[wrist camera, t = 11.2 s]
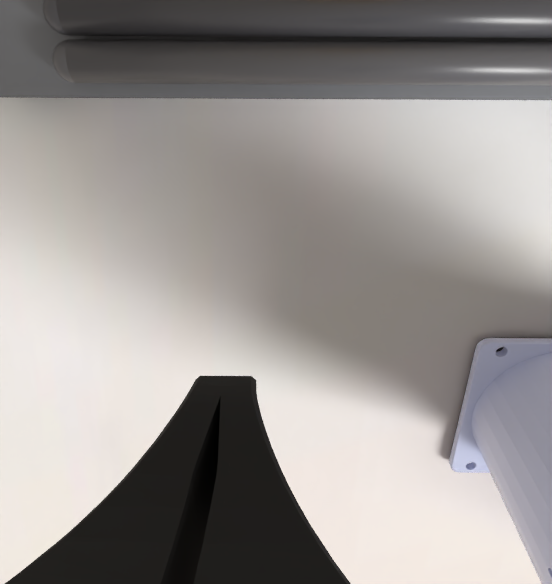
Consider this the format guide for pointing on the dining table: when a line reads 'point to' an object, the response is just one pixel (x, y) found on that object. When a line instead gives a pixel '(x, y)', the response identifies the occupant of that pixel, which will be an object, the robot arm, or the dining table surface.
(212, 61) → the grey base plate
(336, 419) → the dining table surface
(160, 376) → the dining table surface
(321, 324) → the dining table surface
